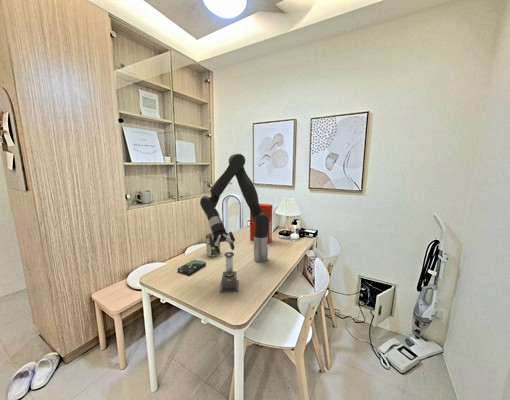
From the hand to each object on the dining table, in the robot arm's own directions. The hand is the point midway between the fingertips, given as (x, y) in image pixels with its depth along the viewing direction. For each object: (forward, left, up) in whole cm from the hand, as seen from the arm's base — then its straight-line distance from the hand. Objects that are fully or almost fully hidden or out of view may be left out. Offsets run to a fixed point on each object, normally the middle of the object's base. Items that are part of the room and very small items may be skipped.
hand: (226, 251), depth 115 cm
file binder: (-26, -66, -19) cm, 73 cm away
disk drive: (+23, -18, -20) cm, 36 cm away
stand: (-2, +3, -19) cm, 20 cm away
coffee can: (+12, -41, -19) cm, 47 cm away
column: (-2, +3, -13) cm, 14 cm away
